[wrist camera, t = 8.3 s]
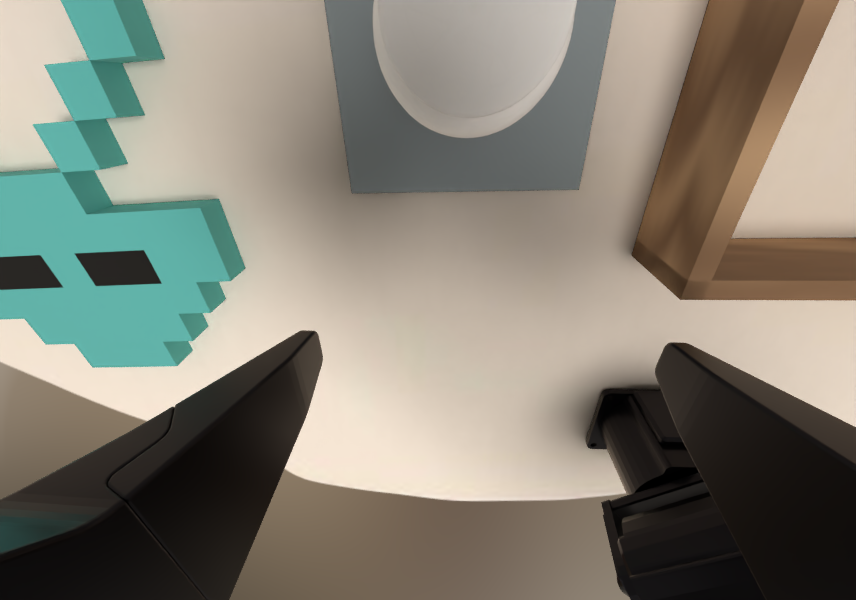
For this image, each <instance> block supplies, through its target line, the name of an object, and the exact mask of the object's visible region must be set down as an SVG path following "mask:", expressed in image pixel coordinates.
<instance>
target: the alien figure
mask: <svg viewBox="0 0 856 600" xmlns="http://www.w3.org/2000/svg"><path fill="white" fill-rule="evenodd" d="M61 2H62V4H63V6H64V8H65V10H66V12H67V14H68V16H69V19H70V21H71V23H72V25H73V27H74V29H75V31H76V33H77V35H78V37H79V39H80V41H81V44H82V46H83V48H84V50H85V52H86V54H87V56H88V58H89V60H88V61H78V62H68V63H58V64H48V65H44V66H45V68H46V69H47V71H48V73H49V75H50V77H51V79H52V81H53V82H54V84H55V86H56V88H57V90H58V92H59V94H60V95H61V97H62V99H63V101H64V103H65V105H66V107H67V108H68V110H69V112H70V114H71V116H72V118H73V119H74V121H68V122H56V123H44V124H33V126H34V128H35V129H36V131H37V133H38V134H39V136H40V138H41V139H42V141H43V143H44V144H45V146H46V148H47V149H48V151H49V153H50V154H51V156H52V158H53V159H54V161H55V163H56V164H57V166H58V168H57V169H43V170H29V171H14V172H0V319H25V320H26V321H27V322H28V324H29V325H30V326H31V327H32V328H33V330H34V331H35V332H36V333H37V334H38V336H39V337H40V338H41V339H42V341H43V342H44V343H45V344H75V345H76V347H77V348H78V349H79V351H80V352H81V353H82V354H83V356H84V357H85V358H86V360H87V361H88V362H89V363H90V365H91V366H92V367H150V366H178V365H179V364H180V363H181V362H182V361H183V360H184V359H185V358H186V357H187V356H188V355H189V354H190V353H191V352H192V351H193V350H192V348H191V346H190V344H189V342H188V341H193V340H194V339H195V338H197V337H198V336H199V335H200V334H201V333H202V332H203V331H204V330H205V329H206V328H207V327H208V324H207V322H206V320H205V318H204V316H203V314H202V313H211V312H212V311H213V310H214V309H215V308H216V307H217V306H219V305H220V304H221V303H222V302H223V301H224V300H225V299H226V298H225V295H224V293H223V291H222V289H221V286H220V284H219V282H218V281H231V280H232V279H234V278H235V277H236V276H237V275H238V274H239V273H241V272H242V271H243V270H244V269H245V266H244V263H243V260H242V258H241V255H240V253H239V250H238V247H237V245H236V242H235V240H234V237H233V235H232V232H231V229H230V227H229V224H228V222H227V219H226V216H225V214H224V211H223V209H222V206H221V203H220V201H219V199H212V200H195V201H178V202H162V203H145V204H128V205H113V204H112V202H111V200H110V199H109V197H108V195H107V193H106V191H105V190H104V188H103V186H102V184H101V182H100V180H99V179H98V177H97V175H96V173H95V171H94V170H101V169H106V168H110V167H114V166H119V165H123V164H128V162H127V160H126V158H125V156H124V154H123V152H122V150H121V148H120V146H119V144H118V142H117V140H116V138H115V136H114V134H113V132H112V130H111V128H110V126H109V124H108V122H107V120H106V118H117V117H129V116H141V115H145V114H144V112H143V109H142V107H141V105H140V103H139V100H138V98H137V96H136V94H135V91H134V89H133V87H132V85H131V82H130V80H129V78H128V75H127V73H126V71H125V69H124V66H123V64H122V63H129V62H139V61H149V60H159V59H165V58H164V56H163V53H162V50H161V48H160V45H159V43H158V40H157V37H156V35H155V32H154V30H153V27H152V24H151V22H150V19H149V17H148V14H147V12H146V9H145V6H144V4H143V1H142V0H61Z"/></svg>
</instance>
